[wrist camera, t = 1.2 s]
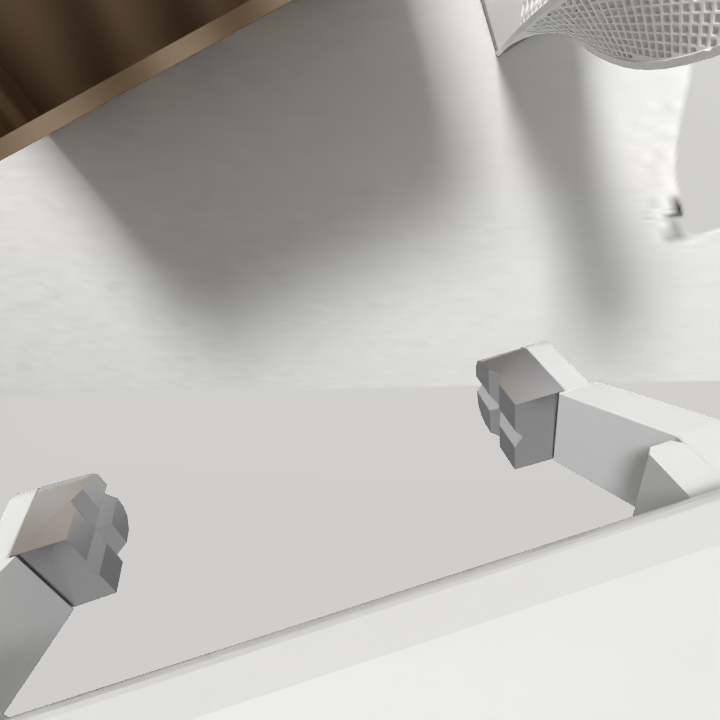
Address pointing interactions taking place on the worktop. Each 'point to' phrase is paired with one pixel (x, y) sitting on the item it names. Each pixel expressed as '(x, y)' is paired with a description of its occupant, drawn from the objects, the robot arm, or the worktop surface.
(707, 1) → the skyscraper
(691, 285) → the worktop surface
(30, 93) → the wooden box
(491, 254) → the worktop surface
